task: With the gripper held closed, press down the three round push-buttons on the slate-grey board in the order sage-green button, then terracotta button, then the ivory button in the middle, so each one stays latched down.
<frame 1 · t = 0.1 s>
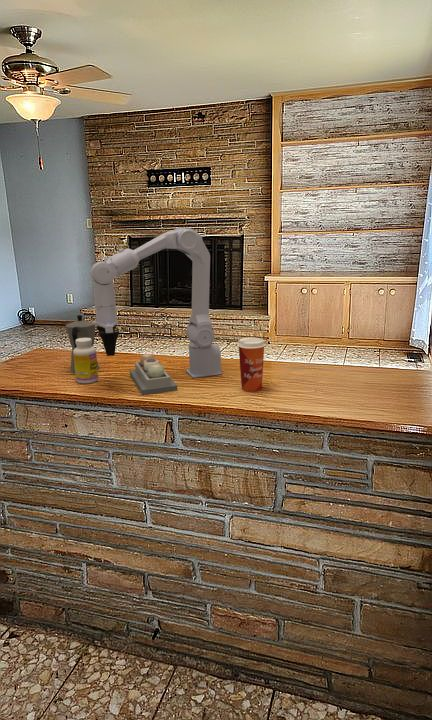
hand: (109, 352, 148), 10 cm above the countertop, tool pointing down, fingers open, 7 cm apart
coffeepot: (84, 371, 165), on the countertop
sage button: (155, 371, 145), point 5 cm above the countertop, slide at 0.0 cm
button board: (152, 382, 152), on the countertop
paper cup: (251, 389, 145), on the countertop
supplement bottle: (87, 381, 155), on the countertop
ivory button: (151, 365, 151), point 5 cm above the countertop, slide at 0.0 cm
terracotta button: (147, 360, 156), point 5 cm above the countertop, slide at 0.0 cm
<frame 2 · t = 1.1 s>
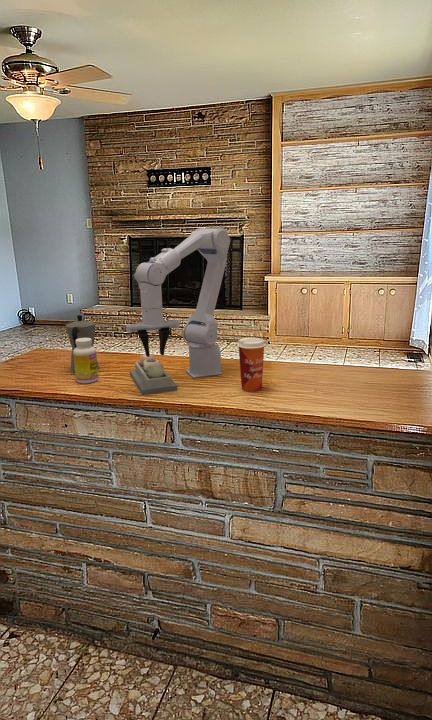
hand: (154, 355, 144), 10 cm above the countertop, tool pointing down, fingers open, 3 cm apart
nothing on the countertop moved.
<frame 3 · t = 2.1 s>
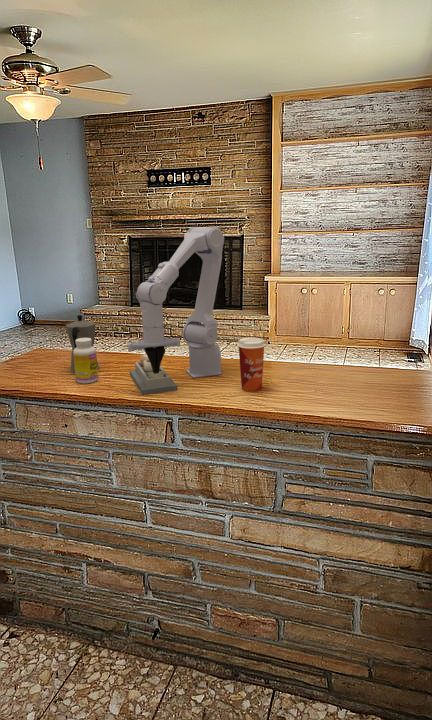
hand: (155, 372, 145), 5 cm above the countertop, tool pointing down, fingers closed, pressing on sage button
sage button: (156, 377, 146), point 3 cm above the countertop, slide at 2.0 cm, touching gripper
everything else where it was.
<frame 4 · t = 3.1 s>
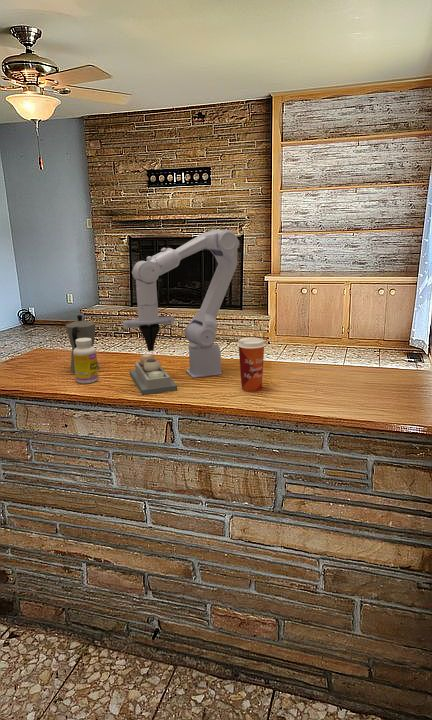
hand: (150, 350, 149), 10 cm above the countertop, tool pointing down, fingers closed
sage button: (156, 377, 146), point 3 cm above the countertop, slide at 2.0 cm
everything else where it was.
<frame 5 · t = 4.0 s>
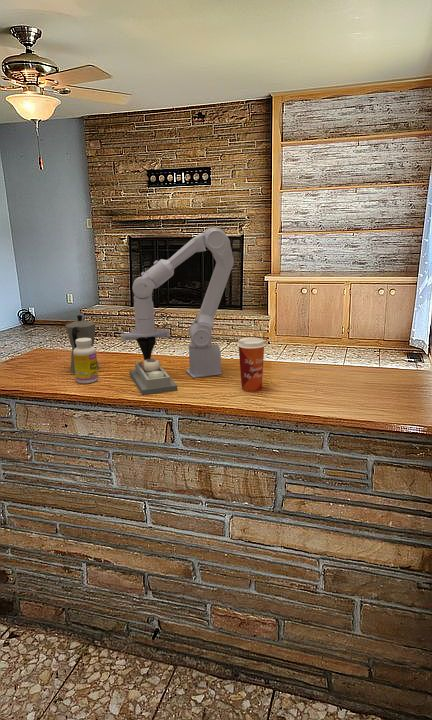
hand: (147, 361, 156), 5 cm above the countertop, tool pointing down, fingers closed, pressing on terracotta button
terracotta button: (147, 366, 157), point 3 cm above the countertop, slide at 2.0 cm, touching gripper
everything else where it was.
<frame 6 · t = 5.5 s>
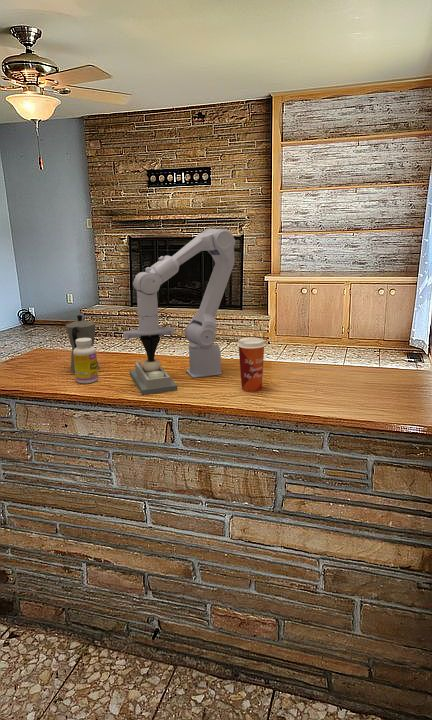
hand: (150, 360, 150), 7 cm above the countertop, tool pointing down, fingers closed, pressing on ivory button
ivory button: (151, 365, 151), point 5 cm above the countertop, slide at 0.0 cm, touching gripper
terracotta button: (147, 366, 157), point 3 cm above the countertop, slide at 2.0 cm
everything else where it was.
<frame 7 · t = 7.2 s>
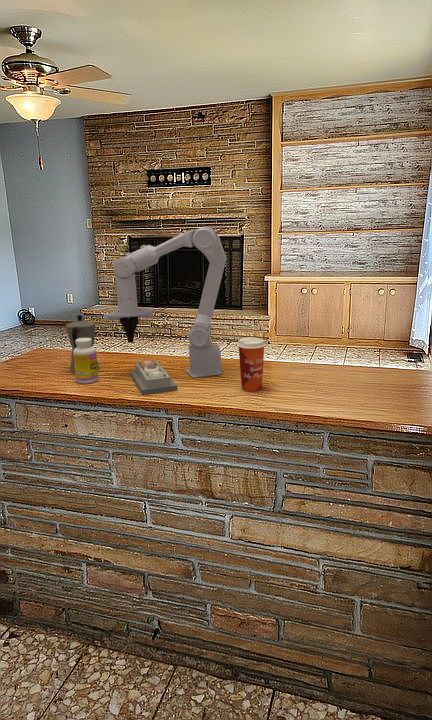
hand: (130, 341, 158), 10 cm above the countertop, tool pointing down, fingers closed
ivory button: (151, 372, 151), point 3 cm above the countertop, slide at 2.0 cm
everything else where it was.
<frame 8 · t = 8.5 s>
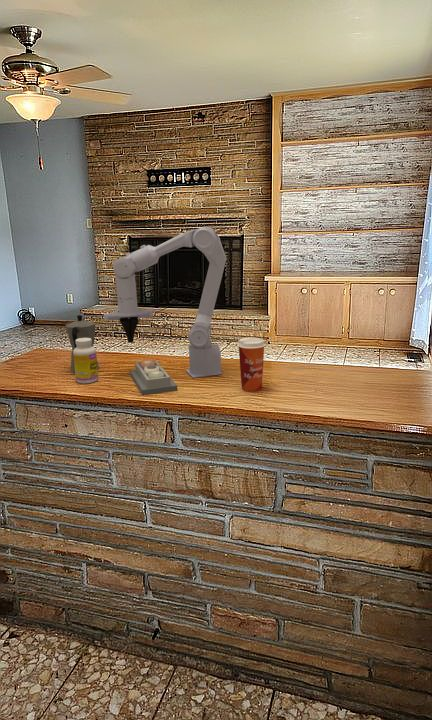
hand: (130, 341, 158), 10 cm above the countertop, tool pointing down, fingers closed
nothing on the countertop moved.
at the end: sage button slide at 2.0 cm; terracotta button slide at 2.0 cm; ivory button slide at 2.0 cm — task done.
